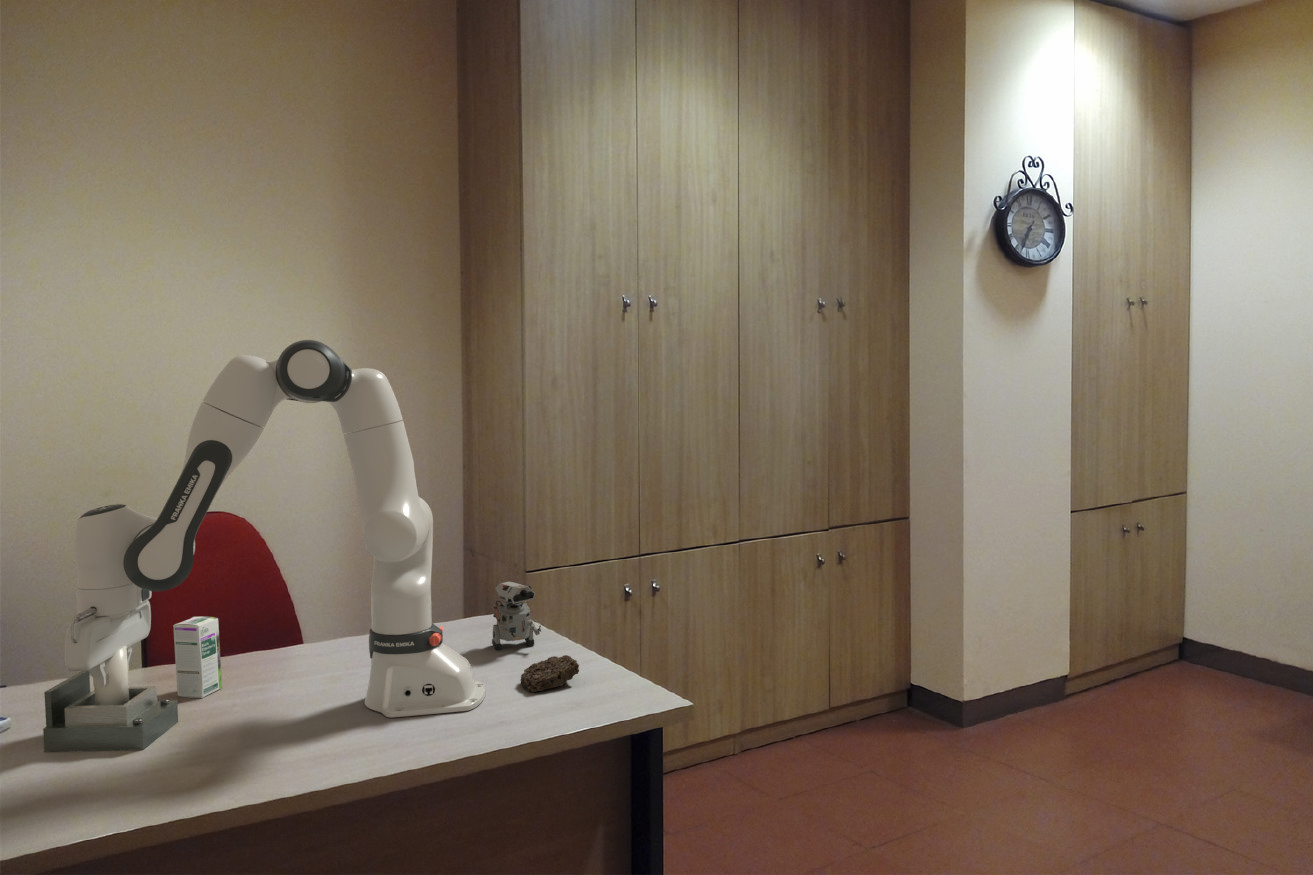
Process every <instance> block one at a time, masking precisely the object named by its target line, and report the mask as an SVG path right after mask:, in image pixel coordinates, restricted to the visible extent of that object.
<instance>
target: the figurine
mask: <svg viewBox="0 0 1313 875" xmlns="http://www.w3.org/2000/svg"><path fill="white" fill-rule="evenodd" d="M495 591H496V593H497V595H498V597H499V600H496V602H495V603H494V604H493V618H495V619H496V624H493V626H492V639H491V644H492V647H493V648H494V649H495V650H497V651H499V650H501V649H502V643H501V640H503V641H506V642H514V641H515V642H517V641H521V640H522V641H523V640H524V641H525V643H526V644H527V645H528V646H529V647H533V646H535V639H534V635H535V636H539V635H540V632H542V626H541V625H539V626H538V628H537V627H536V625H535V624H534V621H533V619H531V608H530V607H529V606H528V603H527V602H528V601H532V600H535V598H536V592H535V591H534V590H532V587H531V586H530V585H524V584H520V583H517V582H514V581H513V582H512V581H504V582H500V583H499V584H498V585H496V587H495ZM501 601H503V602H501ZM498 602H499V603H500V604H499V603H498Z"/></svg>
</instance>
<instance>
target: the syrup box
mask: <svg viewBox="0 0 1313 875" xmlns="http://www.w3.org/2000/svg"><path fill="white" fill-rule="evenodd" d="M172 628H173V640H174V659H175V660H174V661H175V675H176V691H177V696H178V697H181V698H190V699H205V697H206V696H208V695H210V694H213V693H214V692H216V691H218V690H221V689H222V688H223V682H222V666H221V665H222V662H221V646H220V645H221V644H220V630H219V629H220V628H219V618H218V617H214V616H192V617H191V618H189V619H186V620H183V621H181V622H178V623H175V624H173V625H172Z"/></svg>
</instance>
